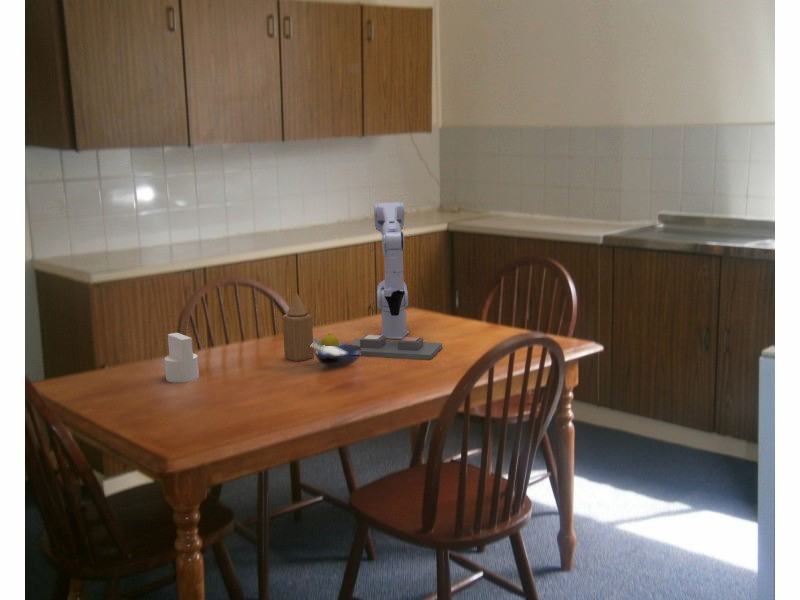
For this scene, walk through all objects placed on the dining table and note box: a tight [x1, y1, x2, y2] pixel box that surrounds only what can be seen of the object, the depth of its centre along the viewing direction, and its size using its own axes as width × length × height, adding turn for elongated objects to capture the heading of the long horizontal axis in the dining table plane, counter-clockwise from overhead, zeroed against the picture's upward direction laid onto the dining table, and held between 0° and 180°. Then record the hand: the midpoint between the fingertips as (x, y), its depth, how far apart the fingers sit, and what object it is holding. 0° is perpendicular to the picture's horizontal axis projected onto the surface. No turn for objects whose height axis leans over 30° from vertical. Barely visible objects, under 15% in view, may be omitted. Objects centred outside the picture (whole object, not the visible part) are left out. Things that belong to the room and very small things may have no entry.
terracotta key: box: [402, 336, 421, 342], centre depth 274 cm, size 4×4×2 cm
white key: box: [364, 334, 382, 340], centre depth 278 cm, size 4×4×2 cm
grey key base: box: [348, 334, 443, 361], centre depth 276 cm, size 14×28×4 cm, turn 73°
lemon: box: [320, 333, 340, 347], centre depth 268 cm, size 6×6×8 cm
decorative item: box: [282, 292, 315, 362], centre depth 270 cm, size 7×7×20 cm
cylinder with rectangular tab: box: [164, 332, 200, 383], centre depth 253 cm, size 9×9×12 cm
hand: (394, 315), depth 278 cm, fingers closed
